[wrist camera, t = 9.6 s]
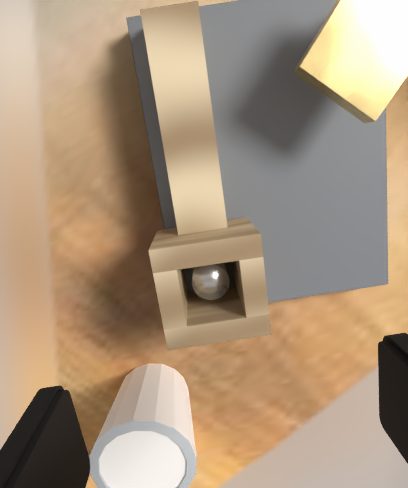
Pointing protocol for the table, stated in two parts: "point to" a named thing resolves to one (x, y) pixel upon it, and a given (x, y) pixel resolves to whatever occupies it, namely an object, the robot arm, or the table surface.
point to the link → (197, 195)
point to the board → (284, 150)
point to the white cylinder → (147, 433)
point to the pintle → (210, 281)
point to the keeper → (359, 55)
